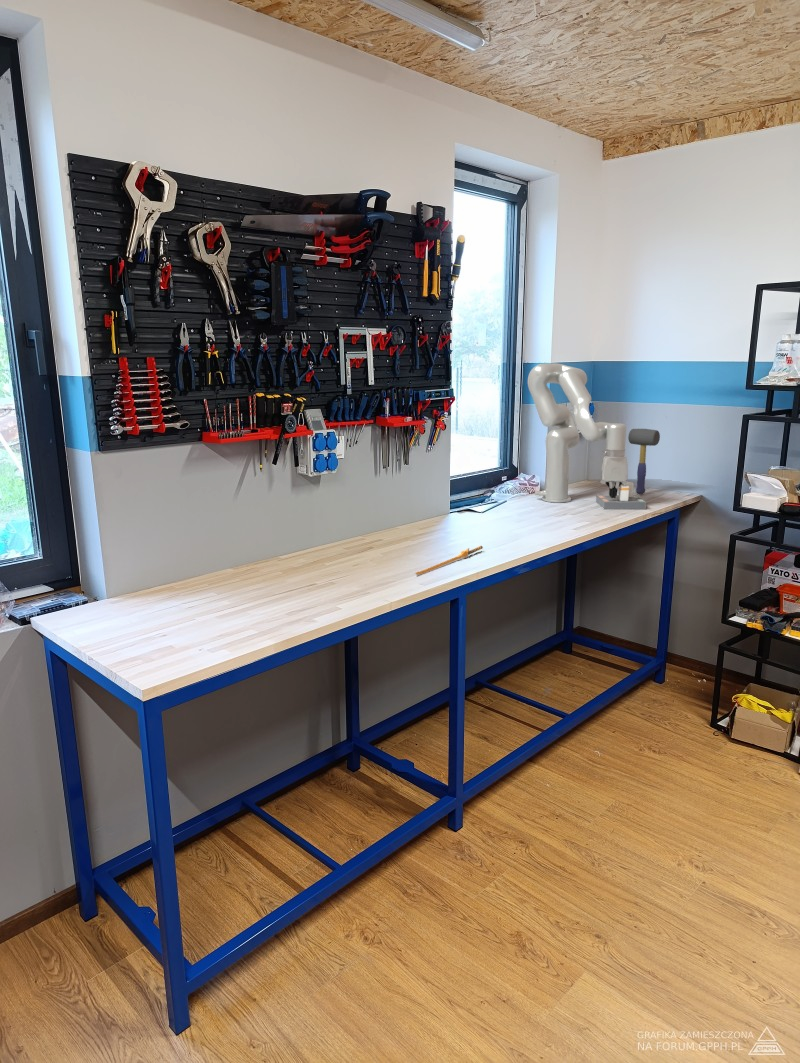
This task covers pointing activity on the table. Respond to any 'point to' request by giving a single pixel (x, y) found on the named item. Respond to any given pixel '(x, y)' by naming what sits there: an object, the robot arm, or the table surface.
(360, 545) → the table surface
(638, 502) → the breaker panel
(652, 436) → the rubber mallet
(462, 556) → the katana
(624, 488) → the block
